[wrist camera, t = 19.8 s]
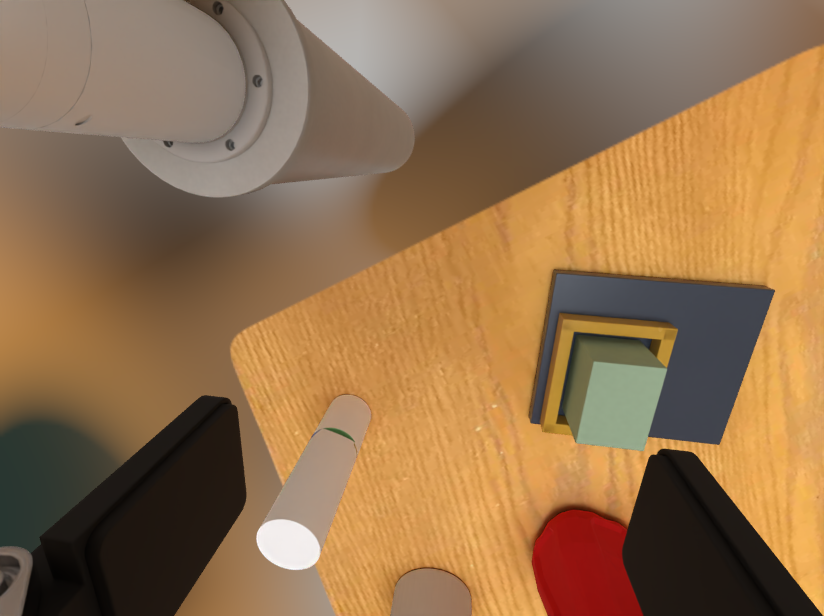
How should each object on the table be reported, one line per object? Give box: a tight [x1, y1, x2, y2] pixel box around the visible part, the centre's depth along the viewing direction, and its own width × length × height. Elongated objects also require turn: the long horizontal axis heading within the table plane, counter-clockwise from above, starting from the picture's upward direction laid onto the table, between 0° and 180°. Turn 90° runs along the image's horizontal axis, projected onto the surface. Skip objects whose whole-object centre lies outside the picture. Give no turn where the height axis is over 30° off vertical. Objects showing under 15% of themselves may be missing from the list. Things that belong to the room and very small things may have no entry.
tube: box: [257, 395, 371, 570], centre depth 34 cm, size 4×4×15 cm
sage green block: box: [562, 335, 667, 451], centre depth 32 cm, size 7×5×5 cm
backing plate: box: [529, 270, 775, 445], centre depth 34 cm, size 16×14×3 cm
